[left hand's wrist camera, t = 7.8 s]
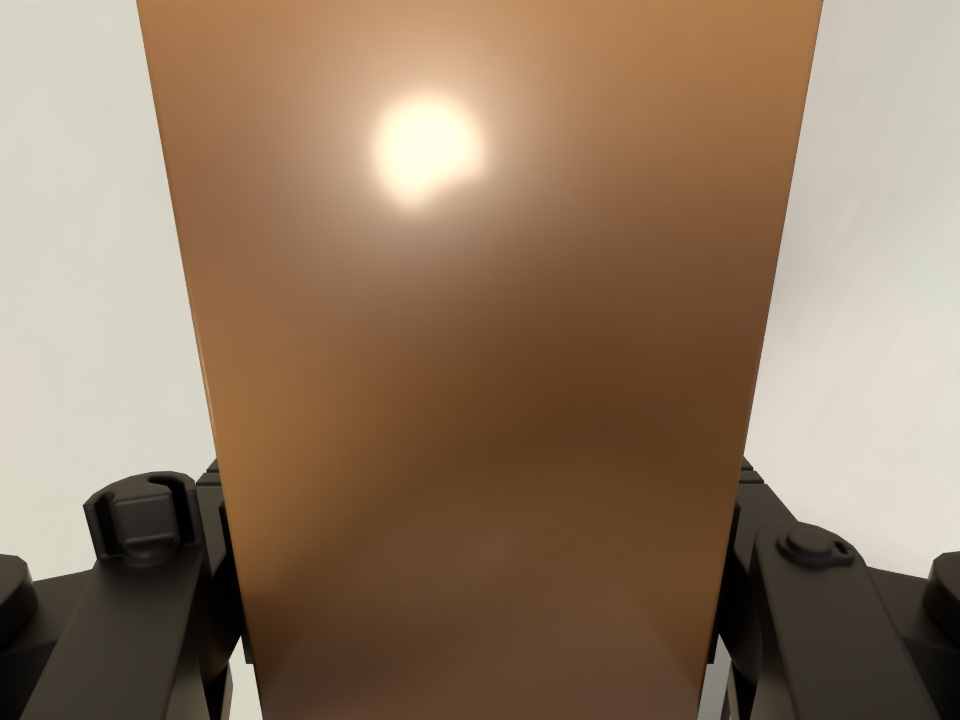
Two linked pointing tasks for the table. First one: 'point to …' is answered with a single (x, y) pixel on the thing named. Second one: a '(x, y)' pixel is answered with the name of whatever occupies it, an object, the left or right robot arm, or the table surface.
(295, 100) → the bar
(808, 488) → the table surface
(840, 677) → the left robot arm
